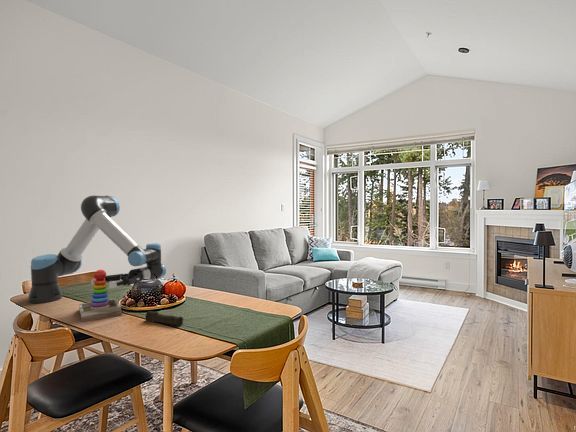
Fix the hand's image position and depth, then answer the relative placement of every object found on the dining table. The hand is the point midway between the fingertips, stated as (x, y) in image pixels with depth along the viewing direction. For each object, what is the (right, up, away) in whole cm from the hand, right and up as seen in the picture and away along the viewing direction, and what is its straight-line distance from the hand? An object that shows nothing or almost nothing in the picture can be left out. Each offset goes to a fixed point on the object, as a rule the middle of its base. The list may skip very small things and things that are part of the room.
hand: (100, 283), depth 167 cm
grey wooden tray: (0, -14, 0) cm, 14 cm away
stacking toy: (0, -12, 0) cm, 12 cm away
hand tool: (+34, -15, -15) cm, 40 cm away
